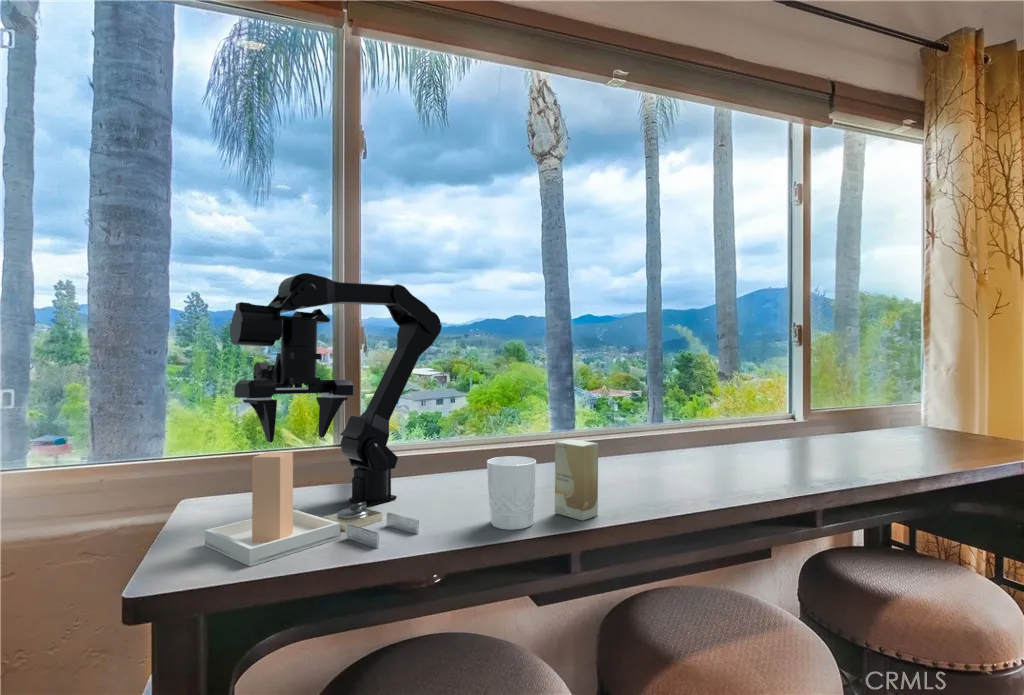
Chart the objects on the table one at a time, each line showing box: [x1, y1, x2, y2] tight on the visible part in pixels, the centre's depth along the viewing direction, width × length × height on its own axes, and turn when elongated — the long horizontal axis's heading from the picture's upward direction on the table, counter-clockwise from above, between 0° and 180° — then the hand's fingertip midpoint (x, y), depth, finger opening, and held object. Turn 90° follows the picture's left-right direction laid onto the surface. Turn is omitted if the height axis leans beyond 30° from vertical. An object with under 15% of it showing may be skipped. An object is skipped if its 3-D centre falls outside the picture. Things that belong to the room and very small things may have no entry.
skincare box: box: [554, 438, 599, 522], centre depth 88 cm, size 6×4×12 cm
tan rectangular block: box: [251, 451, 294, 543], centre depth 76 cm, size 4×4×12 cm
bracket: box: [322, 501, 420, 549], centre depth 81 cm, size 9×16×3 cm, turn 53°
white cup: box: [486, 455, 537, 531], centre depth 83 cm, size 8×8×10 cm
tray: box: [204, 508, 341, 567], centre depth 76 cm, size 13×13×2 cm
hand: (296, 439), depth 88 cm, fingers open, 9 cm apart
